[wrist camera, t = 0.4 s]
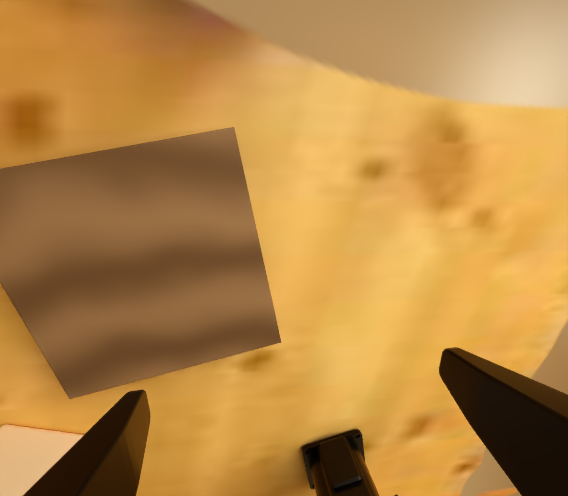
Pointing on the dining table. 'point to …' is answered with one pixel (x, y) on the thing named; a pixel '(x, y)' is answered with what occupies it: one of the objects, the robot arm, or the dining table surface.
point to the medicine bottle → (29, 455)
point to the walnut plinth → (135, 259)
